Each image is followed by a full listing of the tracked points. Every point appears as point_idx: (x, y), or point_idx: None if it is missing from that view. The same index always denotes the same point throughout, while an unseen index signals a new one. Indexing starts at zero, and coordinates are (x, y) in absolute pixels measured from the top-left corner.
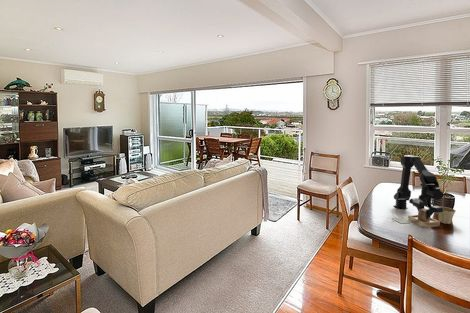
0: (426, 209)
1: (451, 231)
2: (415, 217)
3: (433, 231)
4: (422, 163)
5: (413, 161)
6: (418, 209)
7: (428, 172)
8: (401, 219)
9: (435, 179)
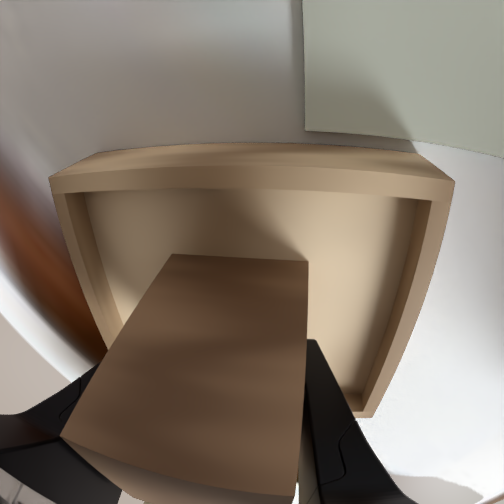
0: None
1: (56, 327)
2: (377, 287)
3: (28, 181)
4: None
5: None
6: (340, 467)
7: None
8: (460, 49)
9: None
